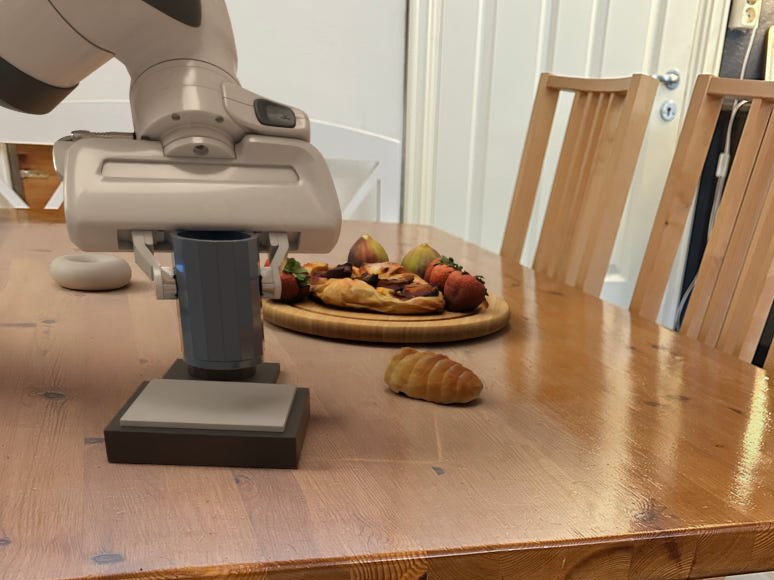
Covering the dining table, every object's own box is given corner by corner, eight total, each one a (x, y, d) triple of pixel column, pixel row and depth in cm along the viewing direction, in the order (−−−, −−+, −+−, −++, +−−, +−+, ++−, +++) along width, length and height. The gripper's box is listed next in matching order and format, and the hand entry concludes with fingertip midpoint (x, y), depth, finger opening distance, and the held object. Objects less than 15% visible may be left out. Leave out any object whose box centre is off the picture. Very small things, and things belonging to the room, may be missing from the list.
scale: (107, 462, 69) (101, 423, 68) (147, 409, 81) (142, 374, 79) (297, 469, 71) (295, 430, 69) (310, 415, 82) (309, 381, 80)
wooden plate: (253, 347, 100) (248, 266, 96) (252, 287, 127) (249, 222, 123) (538, 351, 107) (545, 275, 103) (481, 293, 134) (484, 231, 129)
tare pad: (160, 390, 85) (157, 363, 84) (177, 367, 92) (175, 341, 91) (271, 395, 86) (269, 368, 85) (280, 371, 93) (279, 346, 92)
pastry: (495, 396, 90) (498, 357, 88) (459, 413, 85) (461, 372, 83) (414, 378, 94) (415, 339, 92) (376, 393, 89) (376, 352, 87)
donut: (50, 279, 124) (53, 293, 116) (45, 251, 122) (49, 263, 114) (129, 278, 127) (137, 292, 120) (125, 251, 126) (134, 263, 118)
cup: (175, 368, 70) (161, 238, 65) (191, 347, 75) (179, 226, 70) (259, 371, 70) (251, 243, 65) (269, 350, 75) (262, 230, 71)
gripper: (42, 97, 66) (65, 268, 63) (327, 113, 73) (359, 269, 70) (54, 161, 72) (75, 321, 69) (317, 171, 78) (345, 316, 76)
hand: (220, 295), depth 69 cm, fingers closed on cup, 6 cm apart
